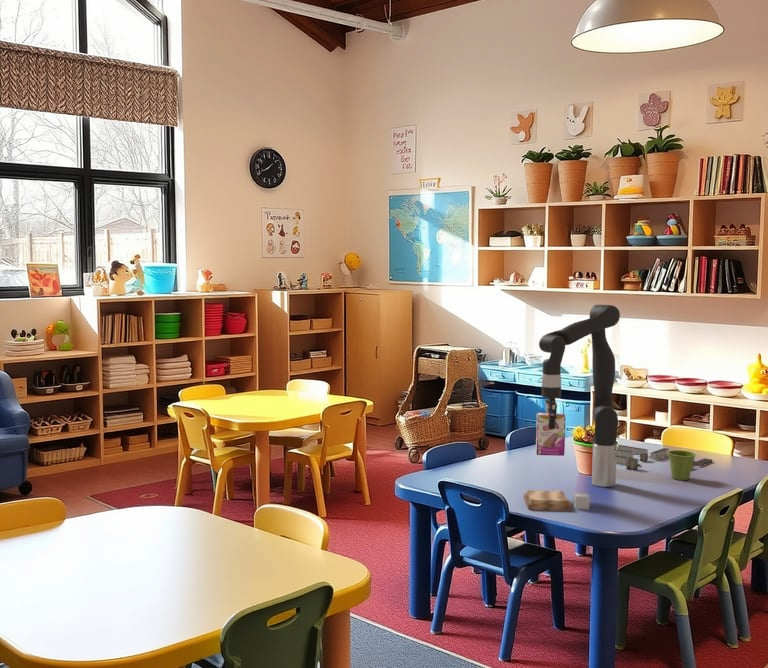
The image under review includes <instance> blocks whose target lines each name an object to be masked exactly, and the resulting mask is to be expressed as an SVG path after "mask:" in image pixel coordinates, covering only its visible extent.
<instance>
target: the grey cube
mask: <svg viewBox="0 0 768 668" xmlns="http://www.w3.org/2000/svg"><path fill="white" fill-rule="evenodd" d="M590 498H591V497H590V495H589V494H588V492H573V505H574V506H573V507H574V509H575V508H576V510H590Z"/></svg>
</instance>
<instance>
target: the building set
mask: <svg viewBox="0 0 768 668" xmlns="http://www.w3.org/2000/svg"><path fill="white" fill-rule="evenodd" d="M616 449H617V450H616V452H615V463H616V465H618V466H619V465H620V466H624V467H626V469H625V470H627V471H632V470H634V471H637V470H638V468H639V467H638V466H641V467H642V464H640V463H639V462H640V461H642V462H641V463H646V462H648V461H649V460H650V459H653V460H652V461H654V460H656V461H658V460H657V459H659V458H661V459H663V458H662V457H664V458H666V457H665V456H667V455H669V454H668V453H667V452H668V451H670V449H669V448H661V449H657V450H654V451H652V452H650V454H649V449H647V448H643V447H635V446H629V445H623V444H618V447H617V446H616ZM635 455H640V456H639V459H638V458H635V457H634V456H635ZM649 457H650V458H649ZM667 457H668V456H667ZM647 460H648V461H647ZM659 460H660V459H659ZM645 461H646V462H645ZM711 461H713V459H710V458H705V457H704V458H701V459H699V460H697V461H696V460H694V461H693V464H692V468H694V466H702V465H704V464H706V463H709V462H711ZM713 462H714V461H713ZM709 464H710V463H709ZM704 466H705V465H704ZM702 467H703V466H702Z"/></svg>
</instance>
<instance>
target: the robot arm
mask: <svg viewBox="0 0 768 668" xmlns="http://www.w3.org/2000/svg"><path fill="white" fill-rule="evenodd" d="M620 318H621V312H620V310H619V309H618V307H616V306H615V305H612V304H596V305H595V304H594V305H593V306H592V307H591V309H590V311H589V318H586V319H584V320H579V321H575V322H573V323H571V324H569V325H566V326H565V327H563V328H562V329H559V330H556V331H552V332H549V333H546V334H544V335H542V337H541V338H540V339H539V343H538V347H539V349H540V350H541V351H542V352H543V353H548V354H550V356H549V358H546V359H544V360H543V362H542V375H541V376H542V377H541V397H542V398H544V399H545V401H544V402H545V413H548V414H549V429H555V419H556V414H558V413H557V412H558V410H557V409H558V403H557V401H556V399H559V398H561V397H562V375H561V374H562V373H561V372H562V371H561V370H562V369H561V368H562V367H561V366H562V360H563V359H564V355H565V354H564V353H565V351H566V346H569V345H572V344H574V343H576V342H578V341H579V340H581V339H583V338H585V337H587V336H591V350H592V352H591V353H592V361H591V362H592V363H591V364H592V367H591V368H592V380H593V381H592V382H593V383H592V385H593V391H594V392H593V393H594V394H593V398H594V399H593V409H592V419H593V421H594V433H593V434H594V435H593V437H592V458H591V459H592V463H591V464H592V465H591V484H592V485H593V486H596V487H603V488H606V487H607V488H608V487H609V488H610V487H616V485H617V484H616V483H617V482H616V477H617V464H616V463H615V449H616V448H617V445H616V443H617V438H618V428H619V427H618V425H619V422H618V421H619V420H618V419H619V417H618V413H617V411H616V410H615V409H614V403H613V388H614V385H615V379H616V358H615V354H614V352H613V351H612V348H611V346H610V345H609V343H608V340H607V337H606V336H607V335H606V329H608V328H612V327H614V326H616V325H617V324H618V322H619V321H620ZM551 414H554V416H551Z"/></svg>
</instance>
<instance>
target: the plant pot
mask: <svg viewBox="0 0 768 668" xmlns="http://www.w3.org/2000/svg"><path fill="white" fill-rule="evenodd" d="M667 453H668V454H669V456H668V459H669V464H670V465H669V466H670V472H671V473H670V475H671V478H672V479H674V480H676V479H678V480H677V481H688V479H689V480H690V477H691V472H692V470H693V469H692V464H693V461H695V459H696V458H695V457H696V456H697V453H695V452H693V451H689V450H679V449H672V450H669V451H668V452H667ZM691 469H692V470H691Z"/></svg>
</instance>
